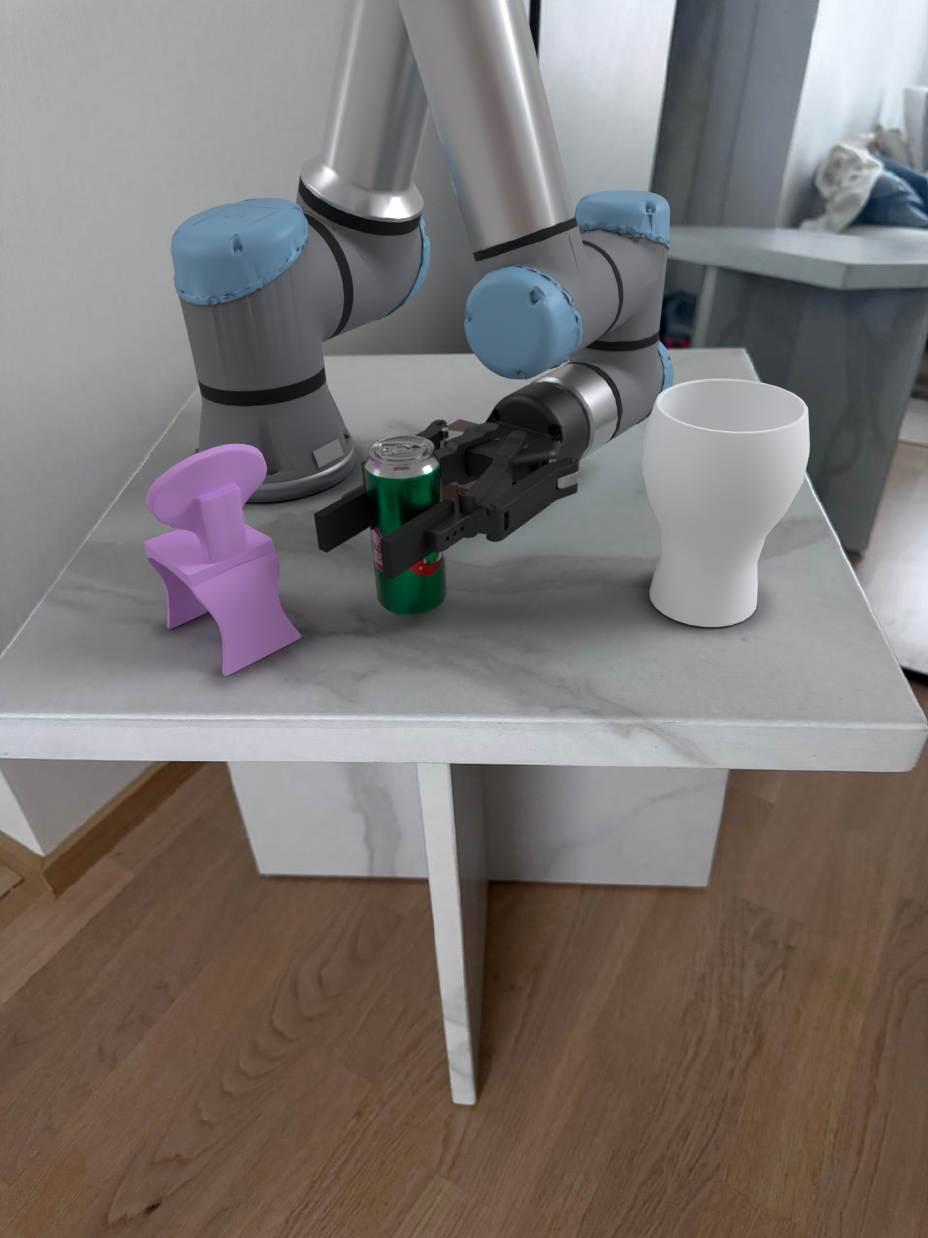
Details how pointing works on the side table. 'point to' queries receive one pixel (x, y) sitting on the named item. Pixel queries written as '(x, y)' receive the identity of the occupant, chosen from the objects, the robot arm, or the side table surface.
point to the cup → (719, 491)
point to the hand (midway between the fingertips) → (352, 545)
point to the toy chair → (219, 553)
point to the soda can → (404, 519)
